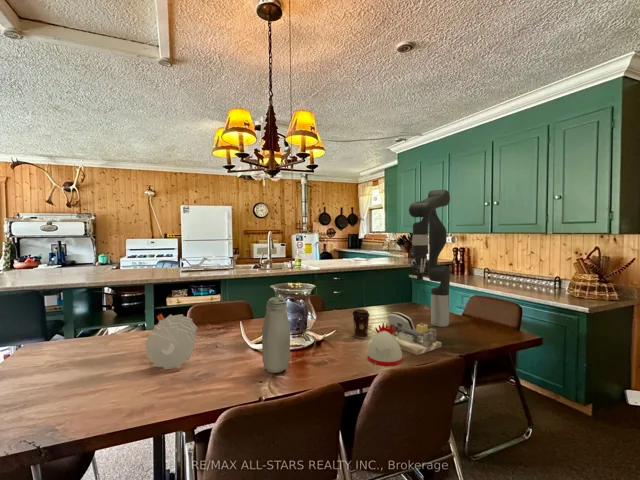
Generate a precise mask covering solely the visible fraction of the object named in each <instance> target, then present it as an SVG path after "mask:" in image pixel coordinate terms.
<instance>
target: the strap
mask: <svg viewBox="0 0 640 480" xmlns="http://www.w3.org/2000/svg"><path fill="white" fill-rule="evenodd" d="M397 329H398V330H401V331H404V332H408V333H411V334H414V335H417V336H421V337H423V334H425V333H419V332H416V330H413V329H409V328H406V327H403V326H399V325H397V326H396V330H397Z"/></svg>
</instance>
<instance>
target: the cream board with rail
mask: <svg viewBox="0 0 640 480" xmlns="http://www.w3.org/2000/svg"><path fill="white" fill-rule="evenodd" d="M397 325H399V326H402V323H399V322H398V323H397ZM394 328H395V330H394V332H393V335H394V336H395V337H396V339H397V341H398V342H399V343H400V344H399V345H400V348H401V351H402V350H403V351H405V352H408V353H410V354H413V355H416V356H419V355H421V354H425V353H427V352H431V351H434V350H437V349H440V348H442V342H440V341H437V329H435V328H432V327H431V328H428V332H425V334H423V337H421V336H417V335H414V334H411V333H408V332H404V331H401V330H398V329H396V325H394V324H392V329H394ZM396 331H397V332H396Z"/></svg>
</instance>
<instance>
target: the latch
mask: <svg viewBox="0 0 640 480" xmlns="http://www.w3.org/2000/svg"><path fill="white" fill-rule="evenodd" d="M415 329H416V332H419V333H425V332H428V329H429V328H428V324H426V323H423V322H420V323H418V324H416V328H415Z"/></svg>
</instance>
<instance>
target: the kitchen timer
mask: <svg viewBox="0 0 640 480" xmlns="http://www.w3.org/2000/svg"><path fill="white" fill-rule="evenodd" d="M388 325H389V323H388V322H386V325H385V322H382V324H381V325H380V324H378V328H377V327H375V331H376V334H375V335H373V337H372V339H371V342H370V343H369V345H368V350H367V359H368V361H369V362H370V363H372V364H375V365H377V366H384V367H393V366H398V365H400V364H401V363H403V352H402V349H401V348H400V345H399V344H400V343H399V342H398V341H397V339H396V337H395V336H394V335H393V332H394V330H395V328H394V329H392V324H391V326H390V325H389V326H388Z"/></svg>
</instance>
